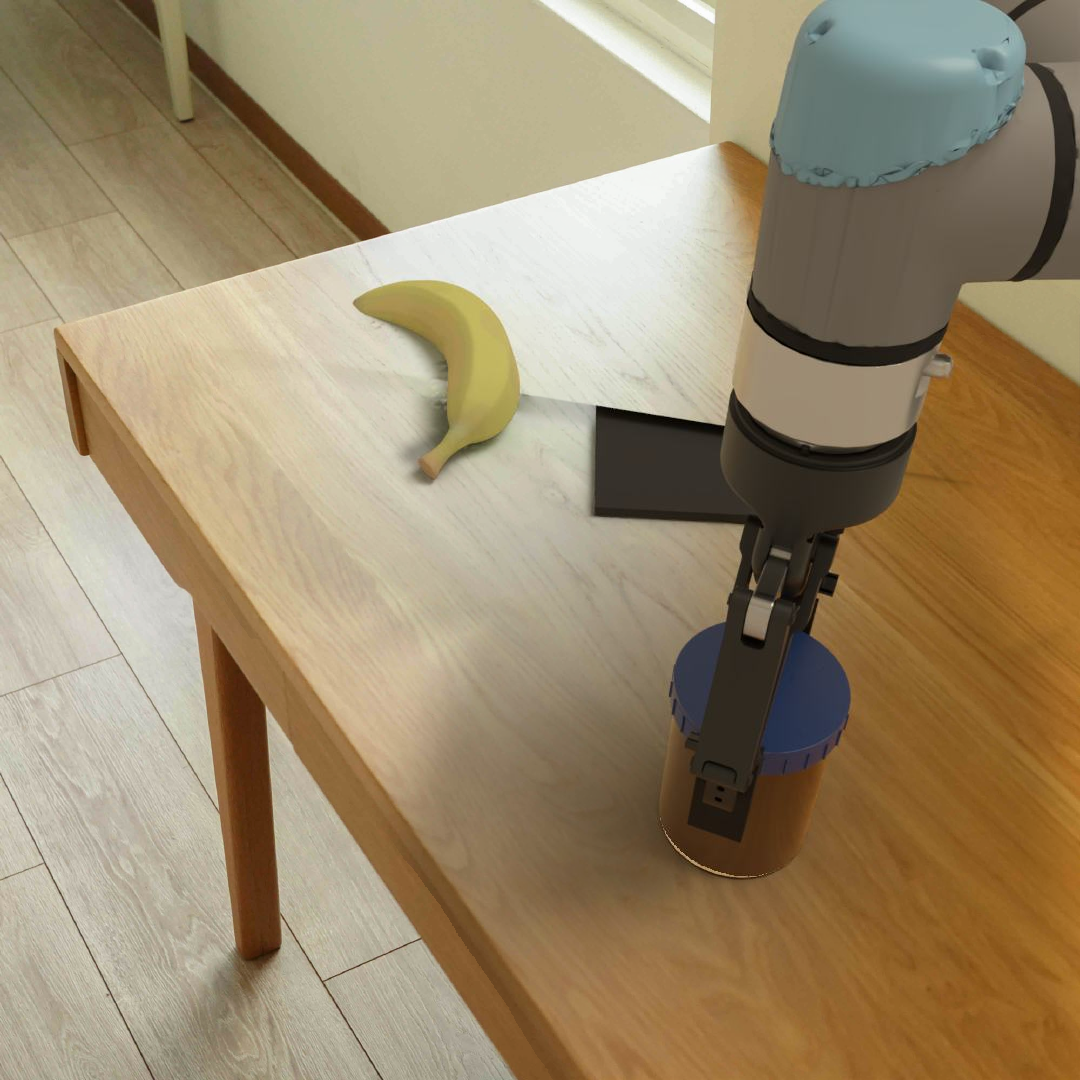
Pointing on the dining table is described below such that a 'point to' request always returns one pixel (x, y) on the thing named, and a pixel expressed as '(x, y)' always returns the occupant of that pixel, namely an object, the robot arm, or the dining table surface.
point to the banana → (456, 357)
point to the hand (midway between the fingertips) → (744, 750)
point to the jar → (770, 823)
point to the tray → (661, 469)
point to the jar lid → (799, 707)
